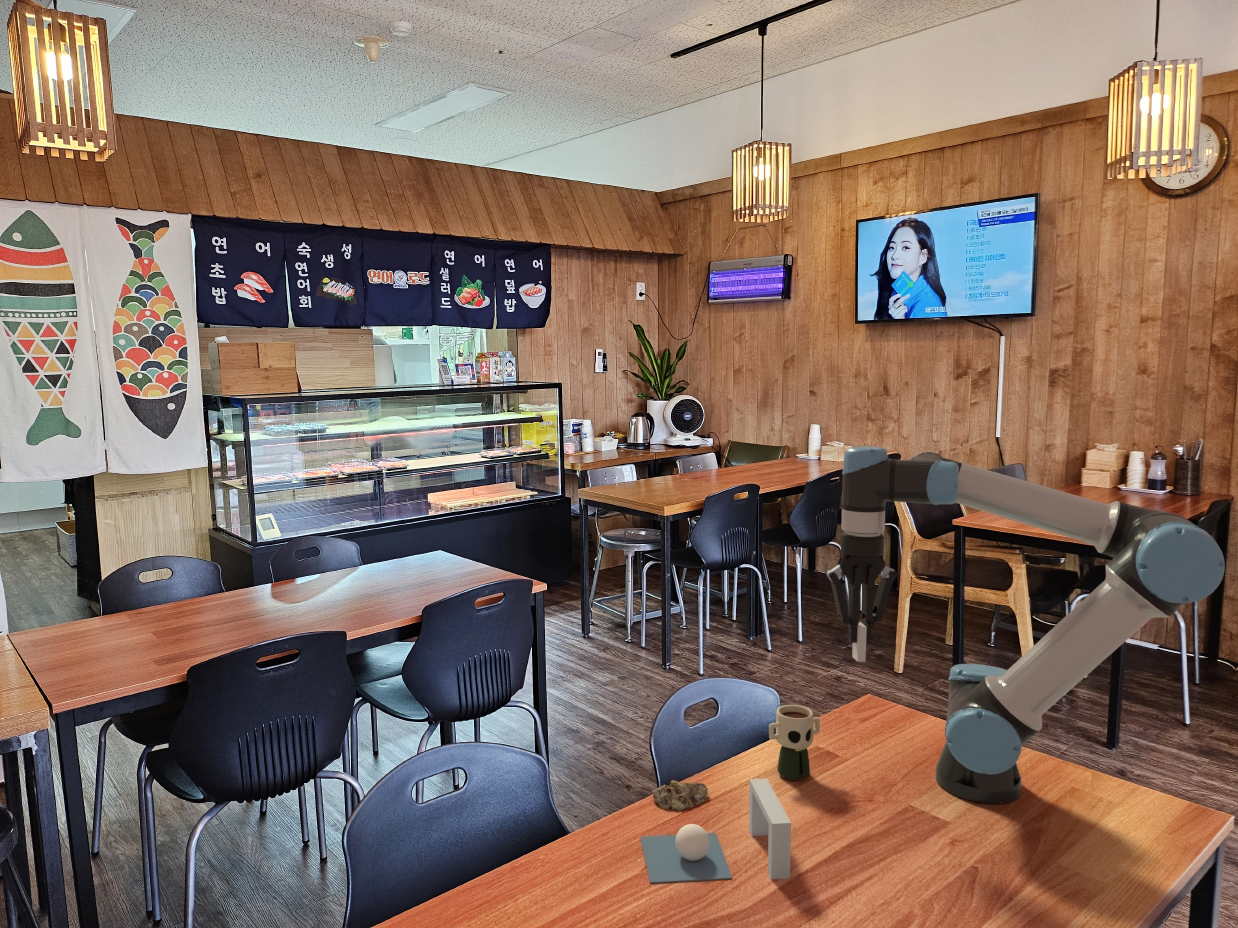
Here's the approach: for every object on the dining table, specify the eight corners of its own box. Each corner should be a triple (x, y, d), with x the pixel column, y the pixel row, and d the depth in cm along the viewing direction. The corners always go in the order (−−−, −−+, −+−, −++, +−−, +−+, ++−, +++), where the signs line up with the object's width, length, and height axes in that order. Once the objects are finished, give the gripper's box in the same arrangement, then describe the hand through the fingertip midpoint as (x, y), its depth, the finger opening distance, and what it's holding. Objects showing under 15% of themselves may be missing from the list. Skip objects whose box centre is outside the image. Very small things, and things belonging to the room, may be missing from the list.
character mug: (776, 787, 162) (778, 722, 161) (760, 770, 169) (761, 707, 168) (827, 779, 165) (829, 715, 164) (809, 763, 172) (810, 701, 171)
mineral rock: (661, 804, 152) (648, 773, 159) (658, 823, 154) (646, 791, 161) (717, 798, 155) (702, 768, 162) (714, 817, 157) (699, 786, 164)
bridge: (765, 828, 148) (766, 778, 147) (789, 878, 133) (791, 822, 132) (748, 829, 147) (749, 778, 146) (771, 879, 133) (772, 823, 132)
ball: (666, 836, 141) (690, 855, 142) (671, 854, 136) (697, 874, 136) (687, 810, 141) (712, 829, 142) (694, 828, 136) (719, 848, 136)
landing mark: (715, 833, 146) (715, 832, 146) (732, 878, 133) (732, 877, 133) (640, 837, 145) (640, 836, 145) (649, 883, 132) (649, 881, 132)
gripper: (889, 527, 158) (885, 651, 160) (820, 529, 157) (817, 653, 159) (906, 535, 150) (901, 664, 153) (834, 537, 149) (831, 667, 152)
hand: (858, 658), depth 156 cm, fingers closed
